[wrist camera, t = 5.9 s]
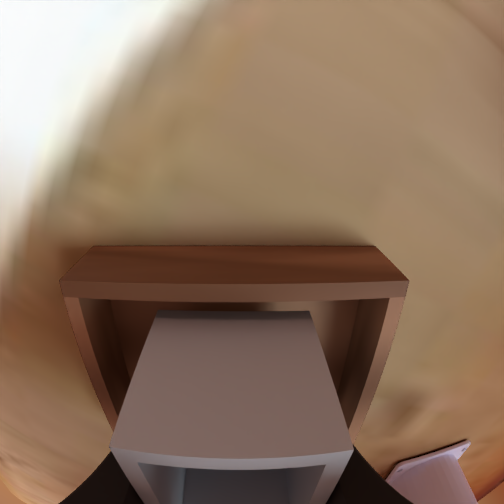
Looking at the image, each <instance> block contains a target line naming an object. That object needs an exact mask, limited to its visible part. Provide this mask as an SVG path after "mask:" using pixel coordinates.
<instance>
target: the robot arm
mask: <svg viewBox="0 0 504 504" xmlns="http://www.w3.org/2000/svg"><path fill="white" fill-rule="evenodd" d="M470 444H471V443H470V441H469V440H467V441H464V442H461V443H459V444H456V445H453V446H451V447H448V448H445V449H442V450H439V451H436V452H433V453H430V454H427V455H423V456H420V457H417V458H413V459H410V460H406V461H403V462H400V463H398V464H397V465H396V466H395V468H394V469H393V470H392V472H391V473H390V475H389V476H388V477H387V479H386V480H384V479H383V478H382V477H381V476H380V475H379V474H378V473H377V472H376V471H375V470H374V469H373V468H372V467H371V466H370V464H369V463H368V462H367V461H366V460H365V459H364V458H363V456H362V455H361V454H360V453H359V452H358V450H357V449H356V448H355V446H354V445H353V444H352V445H353V448H354V451H353V453H352V455H351V457H350V459H349V461H348V463H347V465H346V467H345V469H344V471H343V473H342V475H341V477H340V479H339V481H338V482H337V484H336V486H335V488H334V490H333V492H332V493H331V495H330V497H329V499H328V500H327V502H326V504H478V503H477V501H476V499H475V497H474V494H473V492H472V490H471V488H470V486H469V484H468V482H467V480H466V478H465V476H464V473H463V471H462V469H461V467H460V465H459V463H458V461H457V460H458V459H459V458H460V456H461V455H462V454H463V453H464V452H465V450H466V449H467V448H468V447H469V445H470ZM59 504H144V502H143V501H142V499H141V498H140V497H139V495H138V494H137V492H136V491H135V489H134V488H133V486H132V484H131V483H130V481H129V480H128V478H127V477H126V475H125V473H124V472H123V470H122V468H121V467H120V465H119V463H118V462H117V460H116V458H115V457H114V455H113V453H112V451H111V452H110V453H109V454H108V455H107V457H106V458H105V459H104V460H103V462H102V463H101V464H100V465H99V466H98V468H97V469H96V470H95V471H94V472H93V473H92V474H91V475H90V476H89V477H88V478H87V479H86V480H85V481H84V482H83V483H82V484H81V485H80V486H79V487H78V488H77V489H76V490H75V491H74V492H72V493H71V494H70V495H69V496H68V497H67V498H65V499H64V500H63V501H62V502H60V503H59Z"/></svg>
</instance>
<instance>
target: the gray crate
mask: <svg viewBox="0 0 504 504" xmlns="http://www.w3.org/2000/svg"><path fill="white" fill-rule="evenodd" d="M109 448H110V450H111V451H112V453H113V455H114V457H115V458H116V460H117V462H118V463H119V465H120V467H121V468H122V470H123V472H124V473H125V475H126V477H127V478H128V480H129V481H130V483H131V484H132V486H133V488H134V489H135V491H136V492H137V494H138V495H139V497H140V498H141V499H142V501H143V502H144V504H326V502H327V500H328V499H329V497H330V495H331V493H332V492H333V490H334V488H335V486H336V484H337V482H338V481H339V479H340V477H341V475H342V473H343V471H344V469H345V467H346V465H347V463H348V461H349V459H350V457H351V455H352V453H353V451H354V448H353V445H352V441H351V438H350V435H349V431H348V428H347V425H346V422H345V418H344V415H343V412H342V409H341V405H340V402H339V399H338V396H337V393H336V390H335V387H334V383H333V380H332V377H331V374H330V371H329V368H328V365H327V362H326V359H325V356H324V353H323V350H322V347H321V344H320V341H319V338H318V335H317V332H316V329H315V326H314V323H313V320H312V317H311V314H310V311H181V310H158V311H157V314H156V316H155V319H154V321H153V324H152V326H151V329H150V332H149V334H148V337H147V339H146V342H145V345H144V347H143V350H142V352H141V355H140V358H139V360H138V363H137V366H136V369H135V371H134V374H133V377H132V380H131V382H130V385H129V388H128V391H127V394H126V397H125V399H124V402H123V405H122V408H121V411H120V414H119V417H118V420H117V423H116V426H115V429H114V432H113V435H112V438H111V442H110V445H109Z"/></svg>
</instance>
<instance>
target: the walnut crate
mask: <svg viewBox="0 0 504 504" xmlns="http://www.w3.org/2000/svg"><path fill="white" fill-rule="evenodd" d="M59 282H60V286H61V290H62V294H63V298H64V301H65V305H66V308H67V312H68V315H69V319H70V322H71V325H72V329H73V332H74V335H75V338H76V341H77V344H78V347H79V350H80V353H81V356H82V358H83V361H84V364H85V367H86V369H87V372H88V375H89V377H90V380H91V382H92V385H93V387H94V390H95V392H96V395H97V397H98V399H99V402H100V404H101V406H102V408H103V411H104V413H105V415H106V417H107V420H108V422H109V424H110V426H111V428H112V430H113V432H114V429H115V426H116V423H117V420H118V417H119V414H120V411H121V408H122V405H123V402H124V399H125V397H126V394H127V391H128V388H129V385H130V382H131V380H132V377H133V374H134V371H135V369H136V366H137V363H138V360H139V358H140V355H141V352H142V350H143V347H144V345H145V342H146V339H147V337H148V334H149V332H150V329H151V326H152V324H153V321H154V319H155V316H156V314H157V311H158V310H181V311H310V314H311V317H312V320H313V323H314V326H315V329H316V332H317V335H318V338H319V341H320V344H321V347H322V350H323V353H324V356H325V359H326V362H327V365H328V368H329V371H330V374H331V377H332V380H333V383H334V387H335V390H336V393H337V396H338V399H339V402H340V405H341V409H342V412H343V415H344V418H345V422H346V425H347V428H348V431H349V435H350V438H351V441H352V444H353V445H354V442H355V440H356V438H357V436H358V433H359V431H360V429H361V426H362V424H363V422H364V419H365V417H366V415H367V412H368V410H369V407H370V405H371V402H372V399H373V397H374V394H375V392H376V389H377V386H378V384H379V381H380V378H381V375H382V372H383V370H384V367H385V364H386V361H387V358H388V355H389V352H390V349H391V345H392V342H393V339H394V336H395V332H396V329H397V326H398V322H399V319H400V315H401V311H402V308H403V304H404V300H405V296H406V292H407V288H408V284H409V280H408V279H407V278H406V277H405V276H404V274H403V273H402V272H401V271H400V270H399V269H398V268H397V267H396V266H395V265H394V264H393V263H392V262H391V261H390V260H389V259H388V258H387V257H386V256H385V255H384V254H383V253H382V252H381V251H380V250H379V249H378V248H377V247H376V246H93V247H92V248H91V249H90V250H89V251H88V252H87V253H86V254H85V255H84V256H83V257H82V258H81V259H80V260H79V261H78V262H77V263H76V264H75V265H74V266H73V267H72V268H71V269H70V270H69V271H68V272H67V273H66V274H65V275H64V276H63V277H62V278H61V279H60V280H59Z"/></svg>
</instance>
